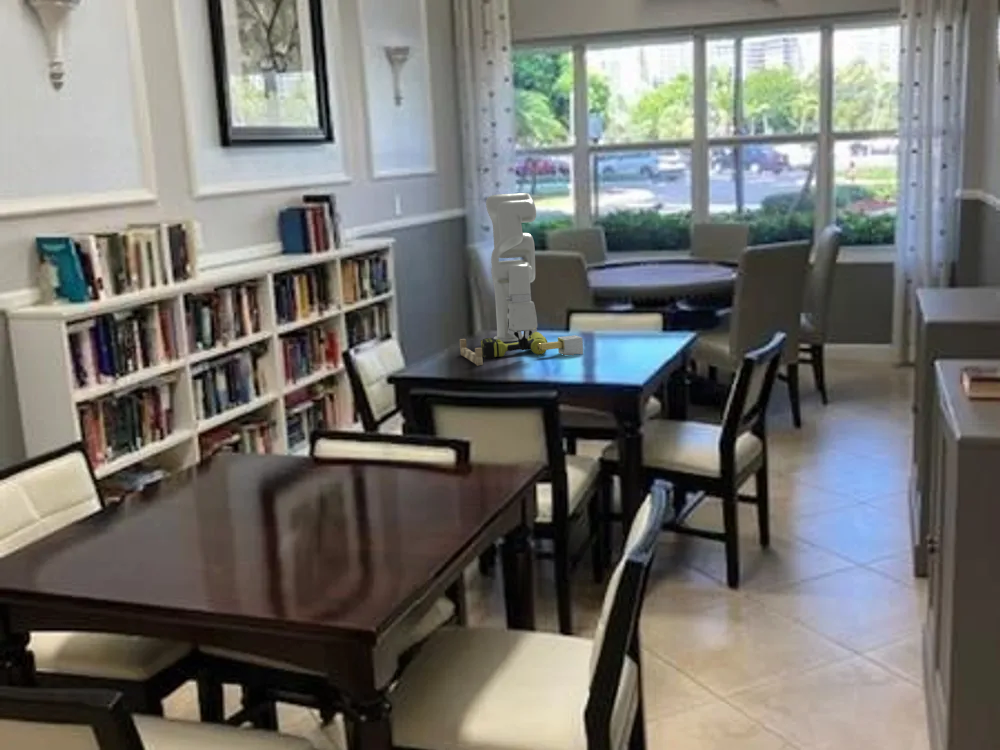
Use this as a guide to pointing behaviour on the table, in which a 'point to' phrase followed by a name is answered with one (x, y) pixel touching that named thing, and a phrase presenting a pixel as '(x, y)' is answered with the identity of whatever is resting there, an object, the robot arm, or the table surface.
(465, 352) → the rail
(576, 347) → the socket block
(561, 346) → the brass capped square peg
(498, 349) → the cordless drill
